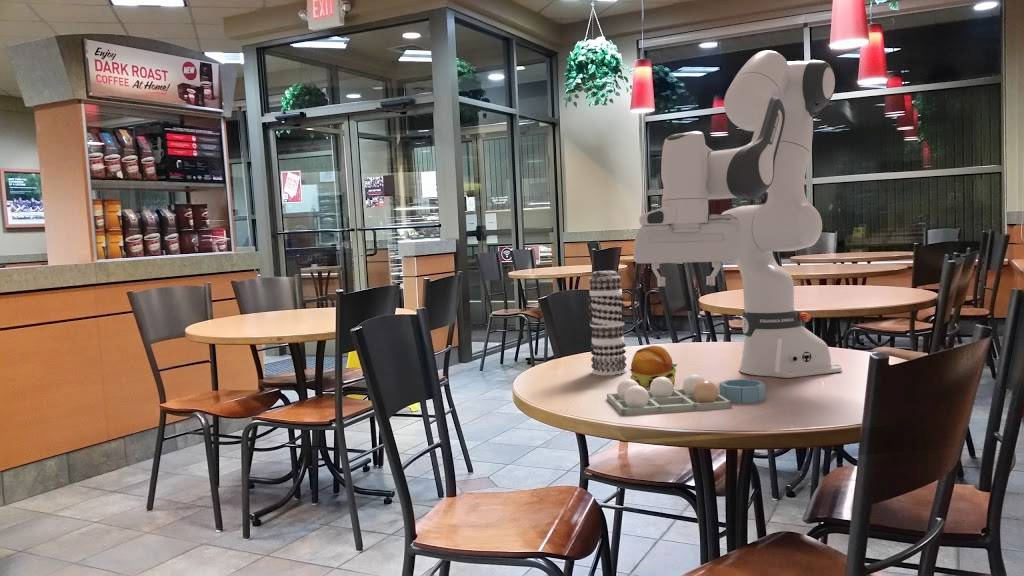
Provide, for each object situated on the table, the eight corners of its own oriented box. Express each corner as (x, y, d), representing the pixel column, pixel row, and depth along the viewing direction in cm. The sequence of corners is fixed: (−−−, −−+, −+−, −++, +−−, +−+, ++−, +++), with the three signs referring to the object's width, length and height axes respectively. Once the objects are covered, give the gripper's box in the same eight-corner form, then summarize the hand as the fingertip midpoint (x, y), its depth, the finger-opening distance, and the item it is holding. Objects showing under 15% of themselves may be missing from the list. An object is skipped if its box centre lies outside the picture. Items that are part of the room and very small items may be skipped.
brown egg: (713, 401, 148) (712, 377, 148) (721, 406, 144) (721, 382, 143) (690, 402, 148) (689, 379, 147) (698, 408, 143) (697, 384, 143)
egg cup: (755, 395, 154) (754, 377, 154) (772, 404, 146) (771, 385, 146) (714, 398, 154) (713, 380, 153) (729, 407, 145) (728, 388, 145)
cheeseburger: (680, 380, 173) (678, 339, 170) (675, 402, 163) (672, 359, 160) (635, 379, 176) (632, 339, 173) (628, 400, 166) (624, 358, 163)
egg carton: (707, 395, 156) (706, 370, 156) (732, 411, 142) (731, 383, 142) (607, 402, 155) (606, 376, 154) (622, 419, 141) (621, 390, 140)
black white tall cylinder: (589, 376, 184) (584, 273, 182) (591, 369, 193) (587, 270, 191) (627, 375, 182) (622, 271, 181) (628, 368, 191) (624, 269, 190)
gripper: (737, 214, 150) (737, 284, 151) (632, 217, 153) (633, 286, 153) (742, 212, 144) (743, 285, 145) (633, 216, 146) (634, 287, 147)
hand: (686, 286), depth 149 cm, fingers open, 8 cm apart
